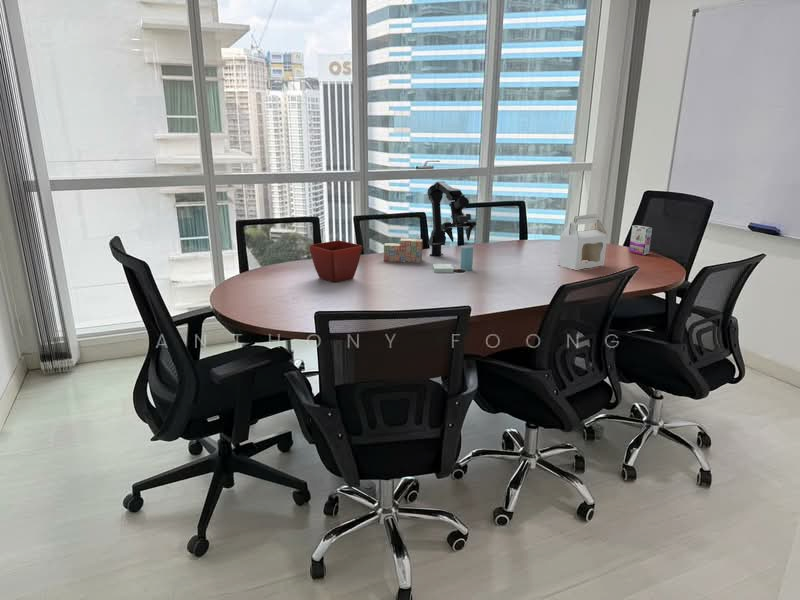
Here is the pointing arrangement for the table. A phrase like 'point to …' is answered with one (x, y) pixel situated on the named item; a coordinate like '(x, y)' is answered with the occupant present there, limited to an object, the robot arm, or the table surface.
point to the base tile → (442, 268)
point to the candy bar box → (640, 239)
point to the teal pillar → (466, 257)
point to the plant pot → (335, 260)
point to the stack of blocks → (404, 250)
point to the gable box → (589, 239)
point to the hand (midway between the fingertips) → (460, 241)
